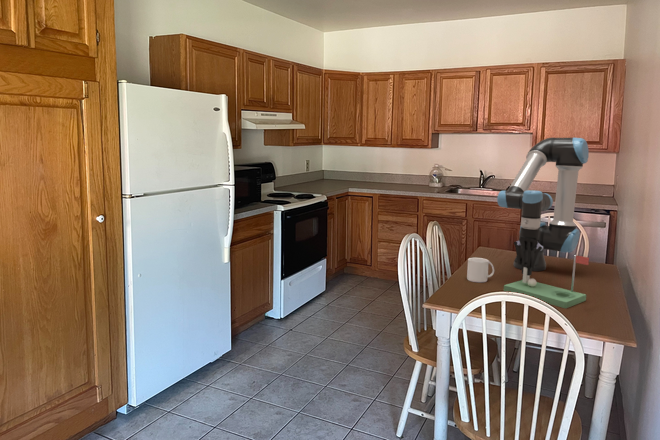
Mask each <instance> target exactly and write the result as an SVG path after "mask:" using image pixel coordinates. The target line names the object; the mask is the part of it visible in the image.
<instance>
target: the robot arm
mask: <svg viewBox="0 0 660 440" xmlns="http://www.w3.org/2000/svg"><path fill="white" fill-rule="evenodd" d="M587 142H588V141H586V139H584V138H582V137H548V138H544V139H542V140H540V141H539V142H537V143H536V144H535V145H534V146H532V147H531V148H530V149H529V151H528V152H527V154H526V160H525V161H524V162H523V164H522V166H521V168H520V170H519V171H518V172H517V174H516V176H515V177H514V179H513V181H512V182H511V184H510V186H509V187H508V189H507V190H501V191H499V193H498V194H497V198H496V199H497V200H496V201H497V205H498V206H499V207H501V208H504V209H505V208H507V209H513V210H515V209H516V210H521V217H520V219H521V220H520V229H519V232H518V233H519V236H518V237H519V239H518V240H516V241H514V242H513V245H514V247H515V253H516V256H515V258H514V261H513V267H514V268H515V269H518V270H521V275H522V280H523V283H528V280H529V279H531V277H530V276H532V274H533V273H532V272H542V271H545V270H547V269H546V268H547V263H546V260H545V255H544V250H548V251H554V252H560V253H567V254H569V253H573V251H575V250H576V248H577V246H578V243H579V240H580V235H581V233H580V229H578V228H577V224H576V223H575V222H574V215H575V214H574V213H575V206H576V205H575V204H576V199H577V198H576V196H577V188H578V187H577V186H578V181H579V172H580V170H581V169H583V165H584V164H587V162H588V161H589V146H588V145H589V144H588V143H587ZM547 163H555V168H557V170H558V174H557V181H556V182H557V183H556V190H555V202H554V200H553V198H552V195H550V194H549V193H545V192H542V191H541V190H534V189H533V190H530V186H531V185H532V183H533V181H535V178H536V177H537V175H538V173H539V172H540V170H541V169H542V167H545V165H546V164H547ZM553 204H554V210H553V219H552V220H551V221H550V222H549V223H548V224H549V225H547V222H546V221H541V219H542V212H545V211H547V210H549V209H551V208H552V206H553Z"/></svg>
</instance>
